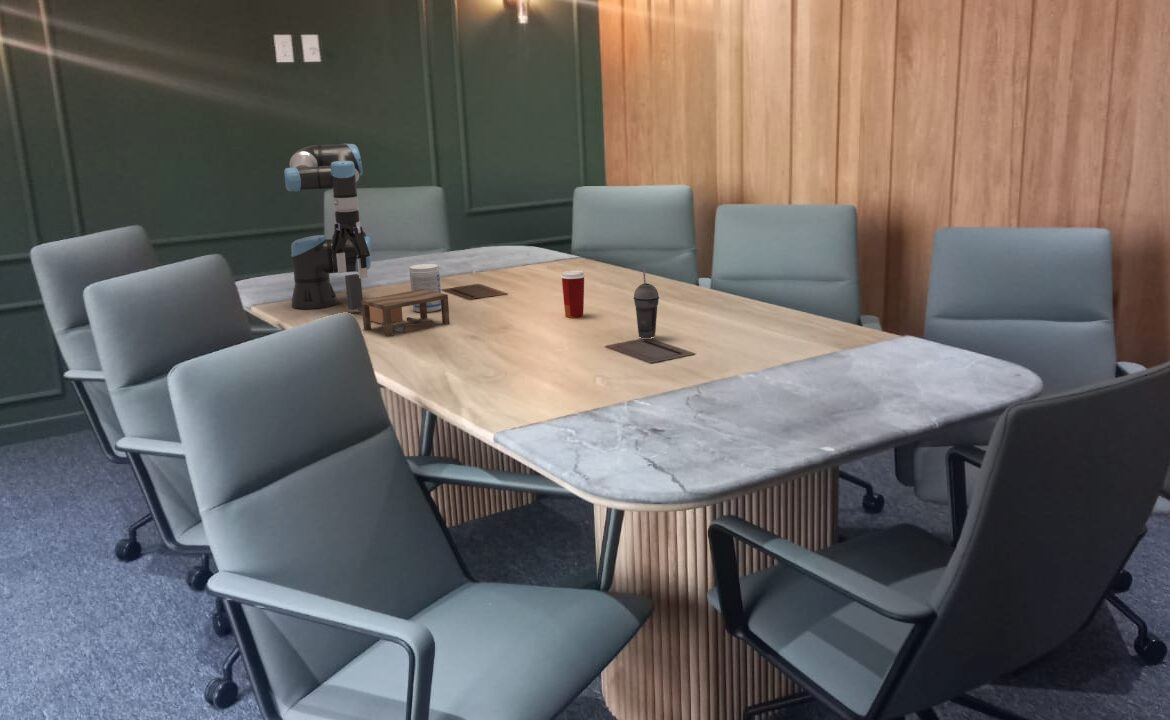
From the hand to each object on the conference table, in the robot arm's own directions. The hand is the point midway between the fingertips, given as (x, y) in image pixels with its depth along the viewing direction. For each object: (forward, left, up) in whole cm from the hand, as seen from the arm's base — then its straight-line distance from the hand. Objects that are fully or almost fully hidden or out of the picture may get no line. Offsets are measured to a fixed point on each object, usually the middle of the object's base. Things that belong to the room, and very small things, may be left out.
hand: (352, 275), depth 331 cm
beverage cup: (+97, +38, -13) cm, 105 cm away
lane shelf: (+31, 0, -12) cm, 34 cm away
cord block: (+11, 0, -12) cm, 17 cm away
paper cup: (+60, +43, -13) cm, 75 cm away
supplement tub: (+15, +18, -13) cm, 27 cm away
